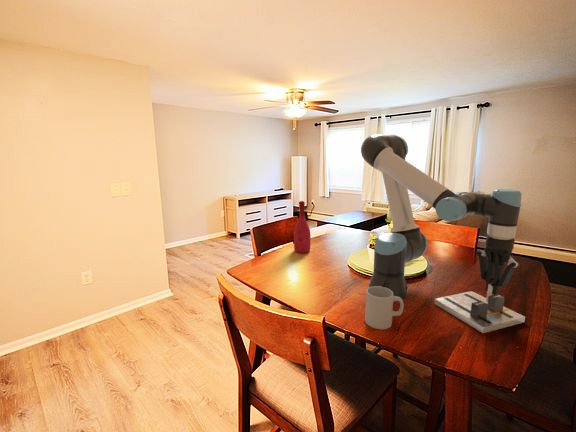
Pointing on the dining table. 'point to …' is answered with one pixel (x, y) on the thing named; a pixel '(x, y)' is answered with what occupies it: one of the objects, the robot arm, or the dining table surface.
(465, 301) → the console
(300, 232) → the wine bottle
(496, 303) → the fader tab
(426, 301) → the dining table surface
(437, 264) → the dining table surface
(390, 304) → the mug
